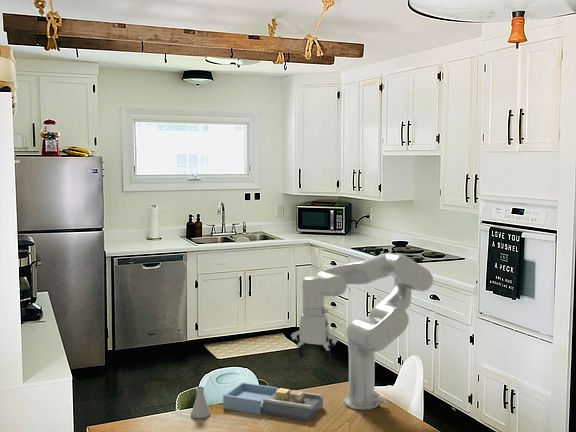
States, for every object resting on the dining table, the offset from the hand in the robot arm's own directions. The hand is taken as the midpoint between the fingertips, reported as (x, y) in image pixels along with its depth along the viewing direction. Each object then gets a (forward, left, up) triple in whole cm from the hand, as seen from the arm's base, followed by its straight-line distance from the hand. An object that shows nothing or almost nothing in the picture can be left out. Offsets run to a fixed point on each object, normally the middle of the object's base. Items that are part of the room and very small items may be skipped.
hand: (314, 359), depth 216 cm
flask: (+37, +16, -20) cm, 45 cm away
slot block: (+8, 0, -20) cm, 22 cm away
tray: (+25, 0, -20) cm, 32 cm away
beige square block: (+7, 0, -16) cm, 17 cm away
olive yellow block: (+12, 0, -16) cm, 20 cm away
